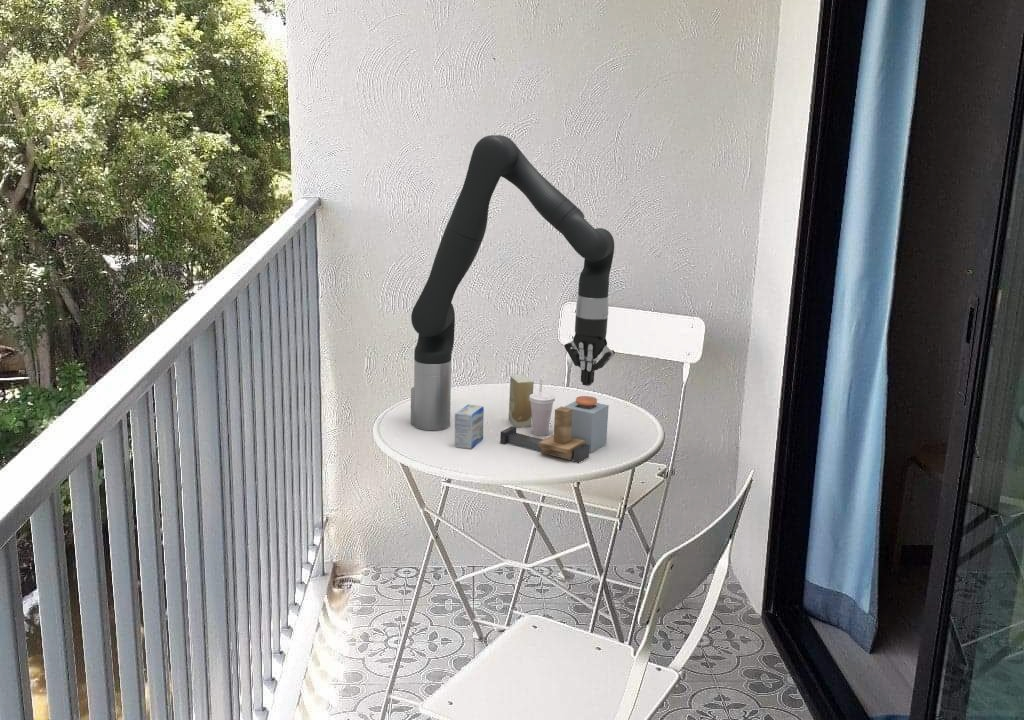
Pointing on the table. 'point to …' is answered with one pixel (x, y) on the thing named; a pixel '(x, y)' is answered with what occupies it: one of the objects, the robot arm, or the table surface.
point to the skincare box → (520, 400)
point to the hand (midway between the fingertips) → (587, 384)
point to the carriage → (561, 436)
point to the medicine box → (469, 426)
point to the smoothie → (541, 411)
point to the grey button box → (590, 424)
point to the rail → (537, 443)
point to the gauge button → (586, 402)
